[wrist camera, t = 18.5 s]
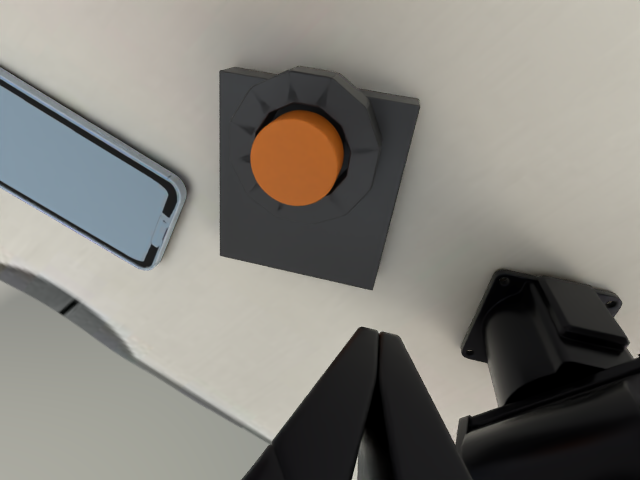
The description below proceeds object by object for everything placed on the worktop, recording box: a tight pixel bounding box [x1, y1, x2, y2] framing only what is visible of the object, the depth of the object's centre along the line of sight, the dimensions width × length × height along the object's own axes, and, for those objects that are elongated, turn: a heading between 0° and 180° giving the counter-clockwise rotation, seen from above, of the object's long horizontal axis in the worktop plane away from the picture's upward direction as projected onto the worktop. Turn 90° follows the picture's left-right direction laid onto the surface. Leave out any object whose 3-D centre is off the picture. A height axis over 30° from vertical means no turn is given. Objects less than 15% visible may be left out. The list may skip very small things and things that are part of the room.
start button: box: [250, 110, 344, 206], centre depth 16 cm, size 4×4×2 cm
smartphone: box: [0, 67, 187, 270], centre depth 23 cm, size 7×1×15 cm
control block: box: [220, 66, 420, 290], centre depth 19 cm, size 11×9×4 cm
